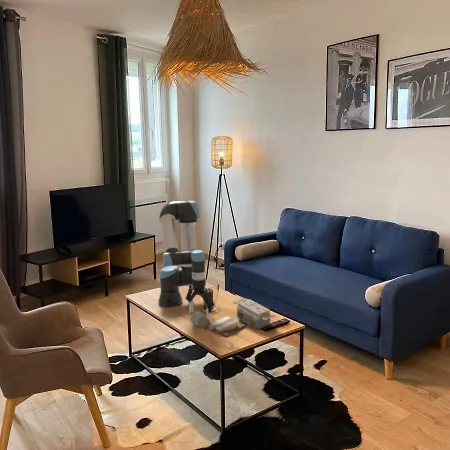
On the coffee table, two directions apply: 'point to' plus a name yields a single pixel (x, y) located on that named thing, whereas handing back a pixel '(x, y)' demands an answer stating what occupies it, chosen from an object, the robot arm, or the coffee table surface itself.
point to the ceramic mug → (199, 319)
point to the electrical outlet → (253, 313)
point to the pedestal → (224, 326)
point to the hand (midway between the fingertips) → (200, 315)
